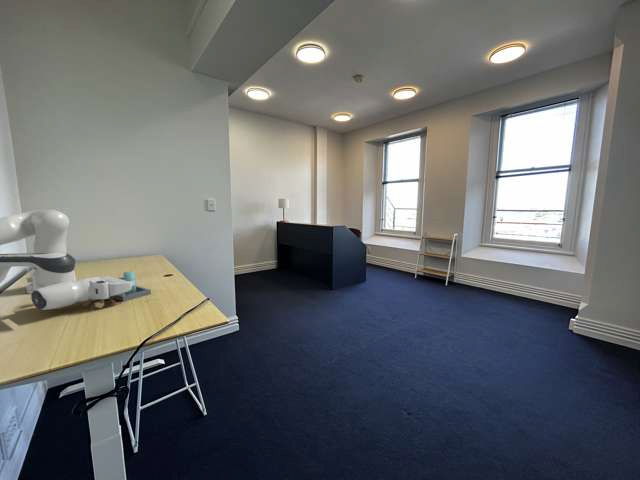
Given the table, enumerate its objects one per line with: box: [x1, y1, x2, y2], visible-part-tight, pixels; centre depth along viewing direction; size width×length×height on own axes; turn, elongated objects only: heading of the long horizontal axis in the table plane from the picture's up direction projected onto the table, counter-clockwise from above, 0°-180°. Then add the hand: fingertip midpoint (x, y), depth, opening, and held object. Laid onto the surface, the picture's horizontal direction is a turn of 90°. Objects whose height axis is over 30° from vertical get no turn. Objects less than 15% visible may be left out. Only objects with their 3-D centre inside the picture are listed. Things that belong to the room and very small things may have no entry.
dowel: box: [123, 270, 137, 296], centre depth 114 cm, size 4×4×11 cm
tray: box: [109, 285, 152, 303], centre depth 115 cm, size 11×11×3 cm
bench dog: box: [94, 301, 106, 311], centre depth 100 cm, size 3×3×2 cm
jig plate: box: [80, 297, 122, 311], centre depth 105 cm, size 14×9×2 cm, turn 62°
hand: (132, 279), depth 115 cm, fingers open, 8 cm apart
